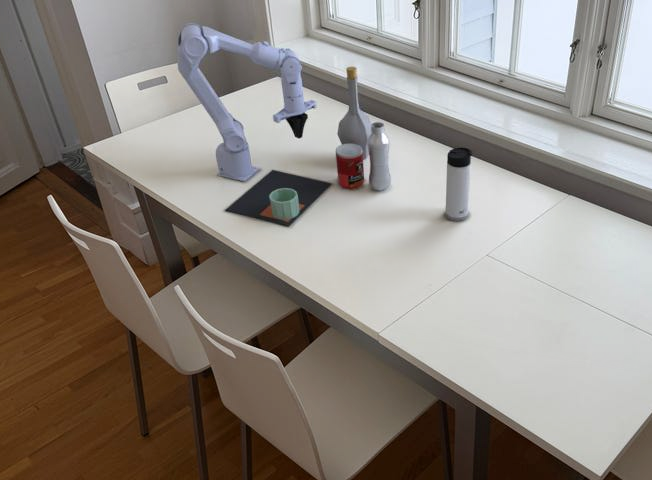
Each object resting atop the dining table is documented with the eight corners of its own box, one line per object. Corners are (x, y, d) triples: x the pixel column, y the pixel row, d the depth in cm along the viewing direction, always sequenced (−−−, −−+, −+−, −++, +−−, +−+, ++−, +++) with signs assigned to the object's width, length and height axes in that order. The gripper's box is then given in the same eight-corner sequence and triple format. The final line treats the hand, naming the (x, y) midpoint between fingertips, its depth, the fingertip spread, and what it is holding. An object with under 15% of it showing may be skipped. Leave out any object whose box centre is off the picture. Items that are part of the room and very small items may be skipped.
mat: (225, 210, 184) (225, 209, 183) (272, 170, 201) (272, 169, 201) (288, 226, 178) (288, 225, 178) (331, 184, 196) (331, 183, 196)
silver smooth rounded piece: (393, 182, 198) (391, 120, 186) (389, 194, 193) (387, 131, 180) (371, 180, 198) (368, 118, 186) (367, 192, 193) (363, 129, 181)
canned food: (352, 192, 193) (349, 159, 186) (332, 183, 197) (329, 150, 190) (370, 182, 198) (368, 149, 191) (350, 173, 201) (348, 140, 195)
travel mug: (466, 222, 182) (470, 157, 170) (443, 219, 183) (445, 154, 171) (470, 210, 187) (474, 146, 175) (448, 207, 188) (450, 143, 176)
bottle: (334, 157, 209) (326, 64, 191) (368, 150, 213) (363, 59, 195) (345, 173, 201) (338, 78, 183) (380, 167, 205) (376, 73, 187)
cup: (268, 218, 181) (265, 200, 177) (277, 203, 186) (275, 186, 183) (294, 221, 180) (291, 204, 176) (303, 206, 186) (301, 189, 182)
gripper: (303, 82, 197) (308, 124, 205) (263, 97, 188) (270, 140, 197) (319, 89, 194) (323, 132, 202) (279, 104, 185) (285, 148, 193)
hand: (298, 136), depth 199 cm, fingers closed
